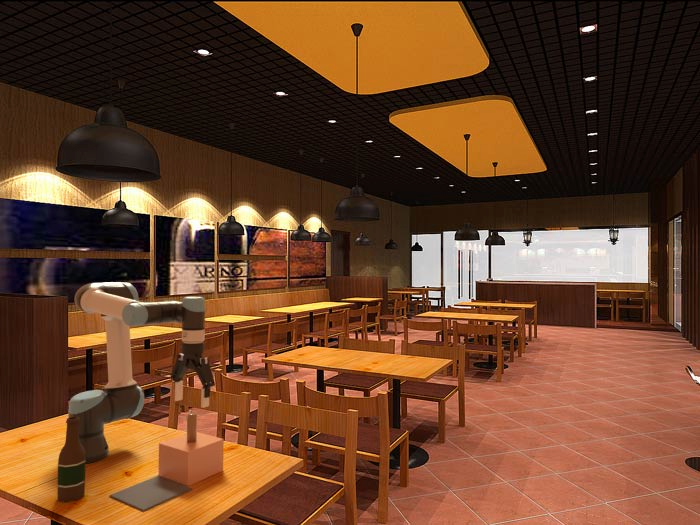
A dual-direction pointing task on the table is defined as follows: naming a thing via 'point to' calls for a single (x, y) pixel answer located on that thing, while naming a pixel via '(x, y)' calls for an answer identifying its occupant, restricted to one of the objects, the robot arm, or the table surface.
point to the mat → (150, 493)
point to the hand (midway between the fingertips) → (191, 403)
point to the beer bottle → (71, 465)
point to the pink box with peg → (190, 455)
